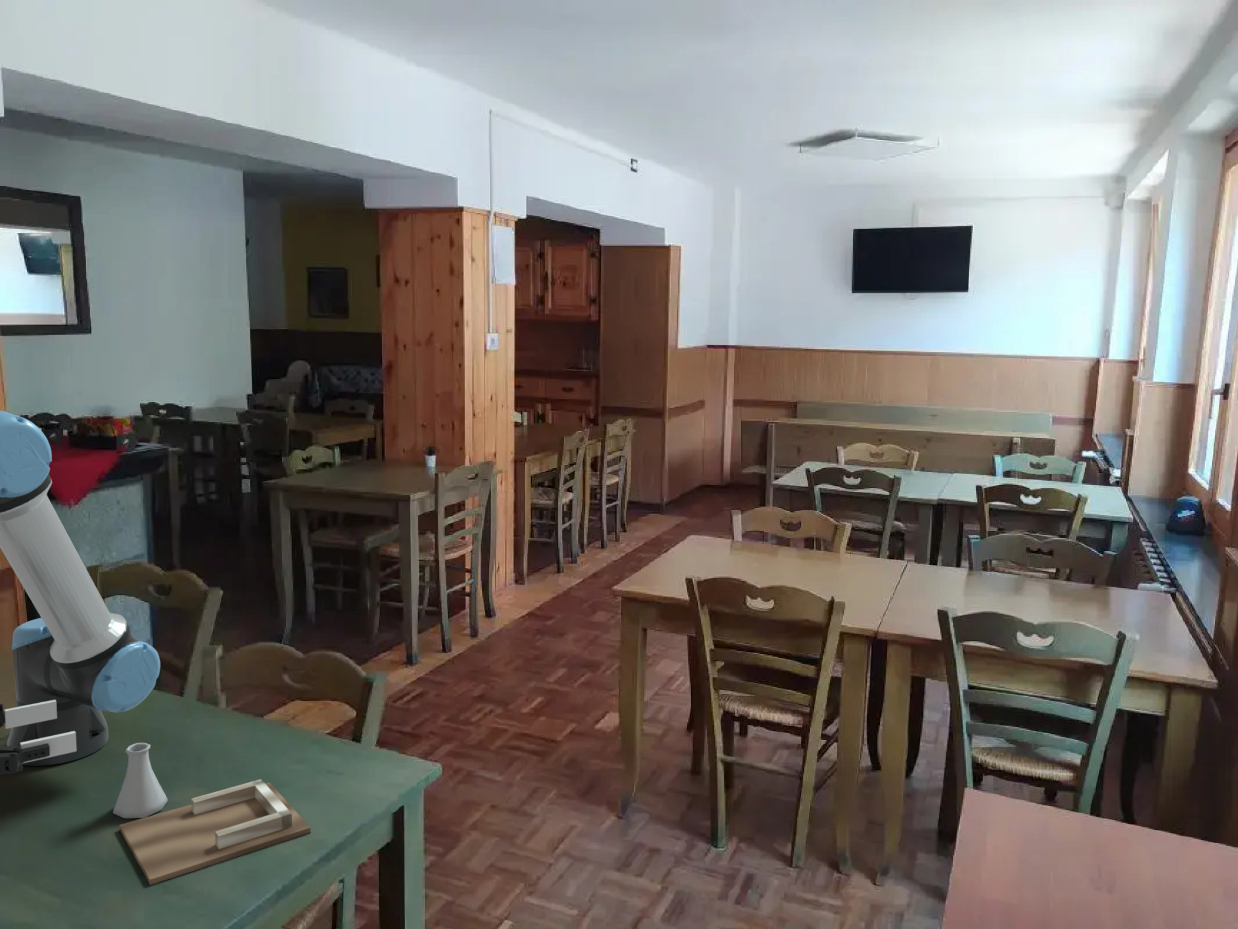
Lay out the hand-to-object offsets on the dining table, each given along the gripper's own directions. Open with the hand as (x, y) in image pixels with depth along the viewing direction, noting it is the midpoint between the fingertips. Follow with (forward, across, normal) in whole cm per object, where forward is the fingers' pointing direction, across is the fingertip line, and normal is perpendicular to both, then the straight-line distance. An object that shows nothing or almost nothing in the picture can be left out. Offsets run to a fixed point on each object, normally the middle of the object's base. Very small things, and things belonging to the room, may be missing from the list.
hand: (65, 724), depth 137 cm
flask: (+10, 0, -16) cm, 19 cm away
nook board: (+16, +14, -16) cm, 27 cm away
